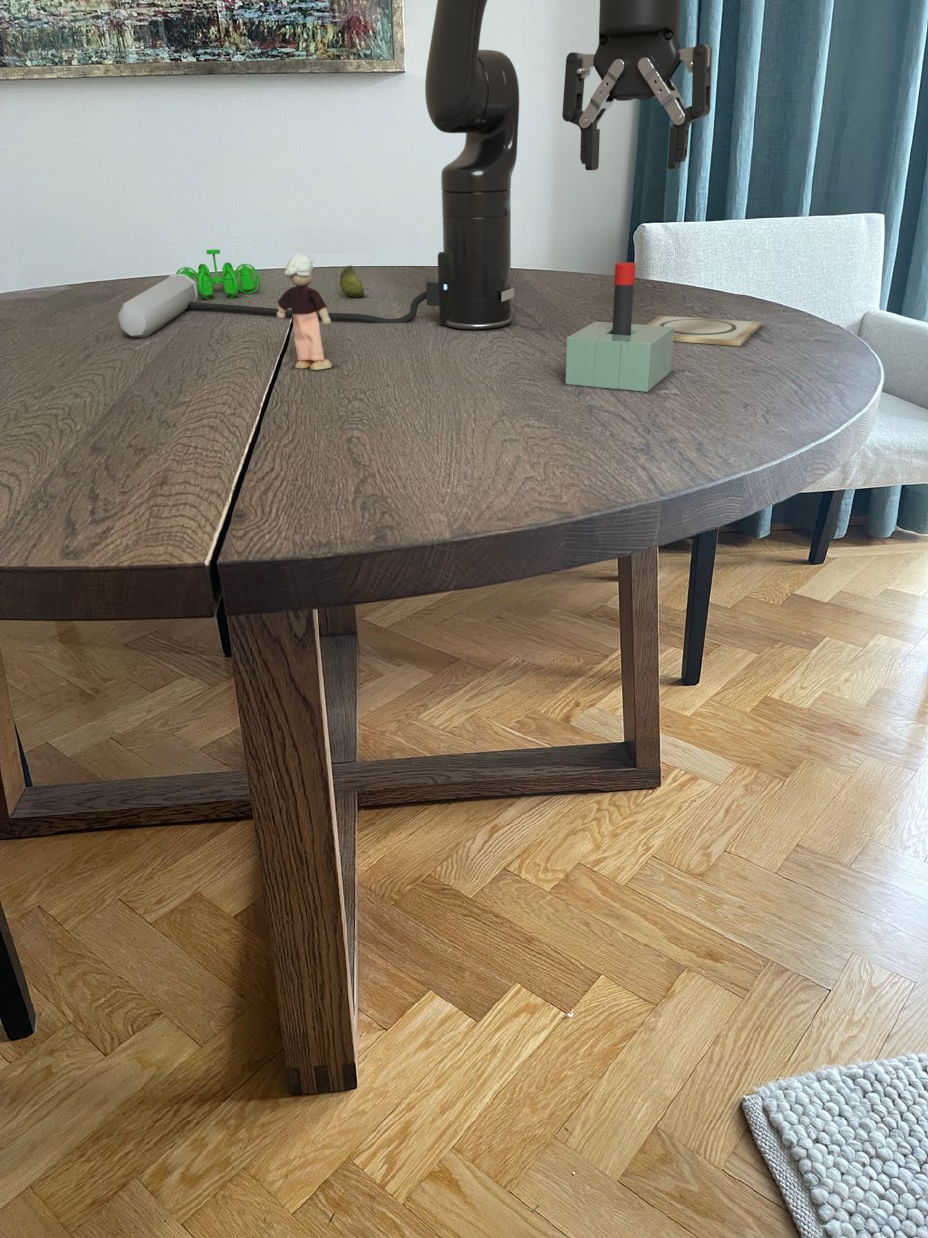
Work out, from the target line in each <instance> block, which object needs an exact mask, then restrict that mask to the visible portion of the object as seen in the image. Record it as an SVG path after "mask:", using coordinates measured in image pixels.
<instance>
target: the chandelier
mask: <svg viewBox="0 0 928 1238" xmlns="http://www.w3.org/2000/svg"><path fill="white" fill-rule="evenodd" d="M205 252H206V254H207V255H212V260H213V268H214V275H215V277H212V274H211V272H210V269H209V268H208V266H207V264H205V263H200V264H199V265H198V268H197V271H196V270H195V269H194V268H191V267H189V266H183V267H181V268H179V269H178V270H177V271H176V273H175V274H185V275H187V276H188V277H190V278H191V279H193V280H194V281H195V278H196V282H197V291H198V292H199V295H200V296H201V297H202V298H203V299H205V300H209V299H210V298H211V296H212V295H213V294H214V288H213V284H223V288H224V292H225V294H227V295H228V296H229V297H230V298H235V297H237V296H238V293H239V290H240V291H241V292H242V293H244V294H253V293H255V292H256V291H257V290H258V289H259V287H260V285H261V280H260V276H259V274H258V271H257V270H256V268H255V267H254V266H253V265H251V264H249V263H241V264H239V265H237V267H236V268H235V270H234V267H233V265H232V263H231V262H224V264H223V266H222V268H221V270H222V271H221V277H219V273H218V267H217V261H216V260H217V259H216V255H219V254H221V250H220V249H207V250H206V251H205ZM253 274H254V275H255V280H254V275H253ZM238 275H239V281H240V284H239V282H238ZM256 285H257V286H256Z"/></svg>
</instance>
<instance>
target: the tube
mask: <svg viewBox="0 0 928 1238" xmlns="http://www.w3.org/2000/svg"><path fill="white" fill-rule="evenodd" d="M197 285H198V283H197V281H195V279H194V280H193V279H191V278H190V277H188V276H187V275H185V274H176V273H170V274H169V276H168V277H167V278H165V279H163V280H161V281H160V282H158V283H156V284H155V285H153V286H151V287H150V288H148V289H146V290H143V292H141V293H139V294H137V295H136V296H134V297H132V298H131V299H129V300H127V301H125V302H124V303H122V306H121V308H120V310H119V312H118V313H117V320H118V325H119V330H120V331H122V332H123V333H125V334H127V335H128V336H129V337H131V338H133V339H145V338H149V337H150V336H151V335H152V334H154V333H155V332H157V331H158V330H160V329H161V328H163V327H164V326H165V325H167V324H168V323H170V322H171V321H172V320H173V319H175V318H176V317H178V316H179V315H180V314H182V313H183V312H184V311H186V310H188V309H187V307H188V305H189V303H196V301H197V299H198V297H199V291H197Z"/></svg>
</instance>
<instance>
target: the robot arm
mask: <svg viewBox="0 0 928 1238" xmlns="http://www.w3.org/2000/svg"><path fill="white" fill-rule="evenodd" d="M487 3H488V0H437V2H436V8H435V14H434V19H433V20H434V21H433V27H432V32H431V33H432V34H431V39H430V43H429V44H430V45H429V51H428V59H427V64H426V73H425V85H424V87H425V88H424V91H425V92H424V93H425V94H424V95H425V106H426V111H427V114H428V116H429V119H430V121H431V122H432V124H433V126H434V127H435V128H436V129H437V130H439V131H440V132H442V133H446V134H465V141H464V147H463V149H462V151H461V152H460V154H459V155H458V156H457V157H456V158H455V159H454V160H452V161H451V162H450V163H447V165H445V166H444V167H442V170H441V172H440V173H441V175H440V184H441V185H440V186H441V188H440V190H441V210H442V211H441V215H442V216H441V217H442V218H441V219H442V247H443V248H442V249H443V251H440V252H438V254H437V273H438V274H437V277H438V278H434V279H431V280H429V281H426V282H425V291H424V292H422V293H420V294H418V295H417V296H415V298H414V299H412V301H411V303H410V308H409V312H408V313H407V314H405V315H404V316H401V317H396V318H385V317H379V316H374V315H369V314H363V313H348V312H347V313H345V312H328V314H329V318H330V319H331V321H357V322H365V323H369V324H370V323H371V324H398V323H399V324H400V323H401V324H402V323H409V322H411V321H412V320H414V319H415V317H416V315H417V312H418V307H419V305H420V304H421V303H422V302H423V301H425V300H426V306H429V307H430V306H431V307H432V306H433V307H439V309H438V310H439V325H441V326H447V327H450V328H454V329H461V330H488V329H497V328H502V327H506V326H508V325H510V324H511V323H512V316H511V311H512V305H511V299H513V298H515V287H513V288H512V287H511V285H512V283H511V279H512V278H511V276H512V272H511V269H512V268H511V265H512V263H511V262H512V261H511V258H512V257H511V254H512V253H511V252H512V251H511V250H512V248H511V244H512V243H511V242H512V241H511V240H512V239H511V238H512V235H511V234H512V233H511V228H512V226H511V215H512V214H511V208H512V207H511V206H512V205H511V202H512V201H511V197H512V196H511V194H512V193H511V192H512V191H511V189H512V187H511V186H512V175H513V172H514V170H515V167H516V163H517V157H518V156H517V155H518V140H519V139H518V138H519V137H518V136H519V134H518V133H519V121H520V120H519V118H520V87H519V78H518V74H517V71H516V68H515V65H514V63H513V62H512V60H511V59H510V58H509V57H508V55H506V54H505V53H503V52H502V51H499V50H493V49H480V40H481V31H482V25H483V20H484V14H485V9H486V6H487ZM681 6H682V0H599V15H598V17H599V19H598V21H599V22H598V26H599V27H598V45H597V49H596V51H595V53H591V54H590V53H581V52H574V51H573V52H569V53H568V54H567V55H566V57H565V71H564V84H563V85H564V86H563V98H562V99H563V100H562V113H561V114H562V115H561V117H562V119H563V121H565V122H567V123H568V122H569V123H571V124H574V125H575V126H577V127H578V128H579V130H580V148H579V149H580V153H579V155H580V156H579V157H580V162H581V165H584V168H585V170H586V171H597V170H598V169H599V165H600V136H601V134H600V133H601V129H600V128H598V125H599V123H600V121H601V120H602V119H603V117H604V115H606V112H607V111H608V110H609V109H610V108H611V107H612V106H613V104H614V103H615V101H617V102H626V101H633V100H641V101H642V100H643V101H649V100H651V101H653V100H654V99H657V101H658V103H659V104H660V105H661V106H662V107H663V108H664V110H665V112H666V113H667V115H668V116H669V118H670V120H671V121H672V123H673V125H672V126H670V127H669V141H668V156H667V169H668V170H678V169H680V167H681V163H684V162H685V161H686V159H687V157H688V148H689V147H688V146H689V134H690V126H691V124H692V123H693V122H695V121H697V120H699V119H702V118H704V117H705V118H706V117H707V116H708V115H709V114H710V112H711V99H712V97H711V96H712V64H713V63H712V62H713V61H712V59H713V49H712V47H711V46H710V45H708V44H704V43H697V44H696V45H694V46H691V47H684V48H682V47H681V44H680V39H679V36H680V22H681V21H680V20H681V8H682V7H681ZM682 62H684V64H685V68H686V71H687V72H688V73H692V75H691V82H692V83H691V105H690V106H687V105H686V104H685V103H684V100H683V99H682V96H681V94H680V92H679V90H678V89H677V87H676V86H675V84H674V82H673V81H672V78H673V76H674V74H675V73H676V71H677V69H678V68H679V66H680V65H681V64H682ZM593 68H594V69H595V71H596V73H597V75H598V76H599V78H600V80H601V82H600V83H599V85H598V86H597V88H596V90H595V91H594V93H593V94H592V96H591V98H590V99H589V100H590V101H589V103H588V105H586V108H585V109H584V110H583V106H584V105H583V104H584V91H585V80H586V79H587V78H588V77H589V76H590V74H591V71H592V69H593ZM186 310H202V311H203V310H204V311H205V310H206V311H222V312H236V313H247V314H257V315H269V316H277V312H278V308H275V307H261V306H251V305H250V306H248V305H240V304H239V305H237V304H226V303H225V304H224V303H209V302H208V303H207V302H195V303H189V305H188V307H187V309H186ZM317 315H318V320H322V318H321V317H320V315H319V312H318V311H317ZM285 317H291V318H293V315H292V309H287V311H286V312H285Z"/></svg>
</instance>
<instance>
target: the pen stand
mask: <svg viewBox="0 0 928 1238" xmlns="http://www.w3.org/2000/svg"><path fill="white" fill-rule="evenodd" d="M612 329H613V322H608V321H594V322H592V323H591V324H589V325H587V326H584V327H582V329H580V330H578V331H576V332H574V333H573V334H571V335H569V336H567V337H566V354H565V356H566V357H565V358H566V359H565V385H571V386H581V387H591V388H592V387H594V388H602V389H612V390H622V391H632V392H643V393H648V392H649V391H650V390H652V388H654V387H655V386H656V385H657V384H658V383H660V382H661V381H662V380H664V378H665V377H667V376H668V375H669V374H671V372H672V363H673V362H672V361H673V349H674V341H673V339H674V327H666V326H652V325H646V324H635V323H632V324H631V336H628V335H615V334H612Z"/></svg>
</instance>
